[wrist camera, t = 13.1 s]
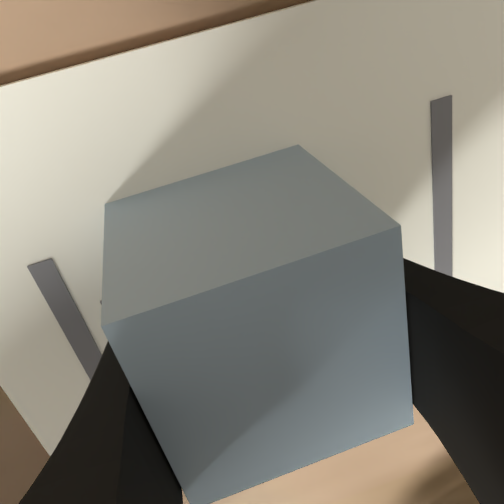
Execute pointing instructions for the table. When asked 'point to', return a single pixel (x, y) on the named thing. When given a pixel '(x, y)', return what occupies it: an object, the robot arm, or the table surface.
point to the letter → (243, 155)
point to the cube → (258, 319)
